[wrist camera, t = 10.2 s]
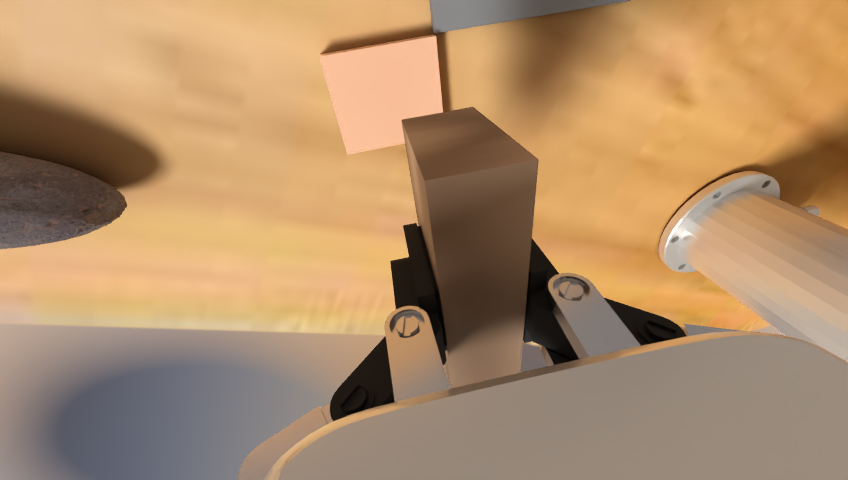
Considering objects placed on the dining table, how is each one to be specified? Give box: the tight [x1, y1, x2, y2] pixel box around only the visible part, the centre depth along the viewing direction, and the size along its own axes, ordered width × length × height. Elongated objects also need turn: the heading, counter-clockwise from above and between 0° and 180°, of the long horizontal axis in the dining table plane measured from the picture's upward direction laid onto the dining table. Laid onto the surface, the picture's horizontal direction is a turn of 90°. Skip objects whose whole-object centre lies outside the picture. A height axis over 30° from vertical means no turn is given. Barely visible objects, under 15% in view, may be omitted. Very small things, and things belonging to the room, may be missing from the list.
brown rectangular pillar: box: [401, 107, 538, 388], centre depth 12 cm, size 2×10×5 cm, turn 7°
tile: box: [319, 35, 443, 155], centre depth 21 cm, size 7×2×6 cm
